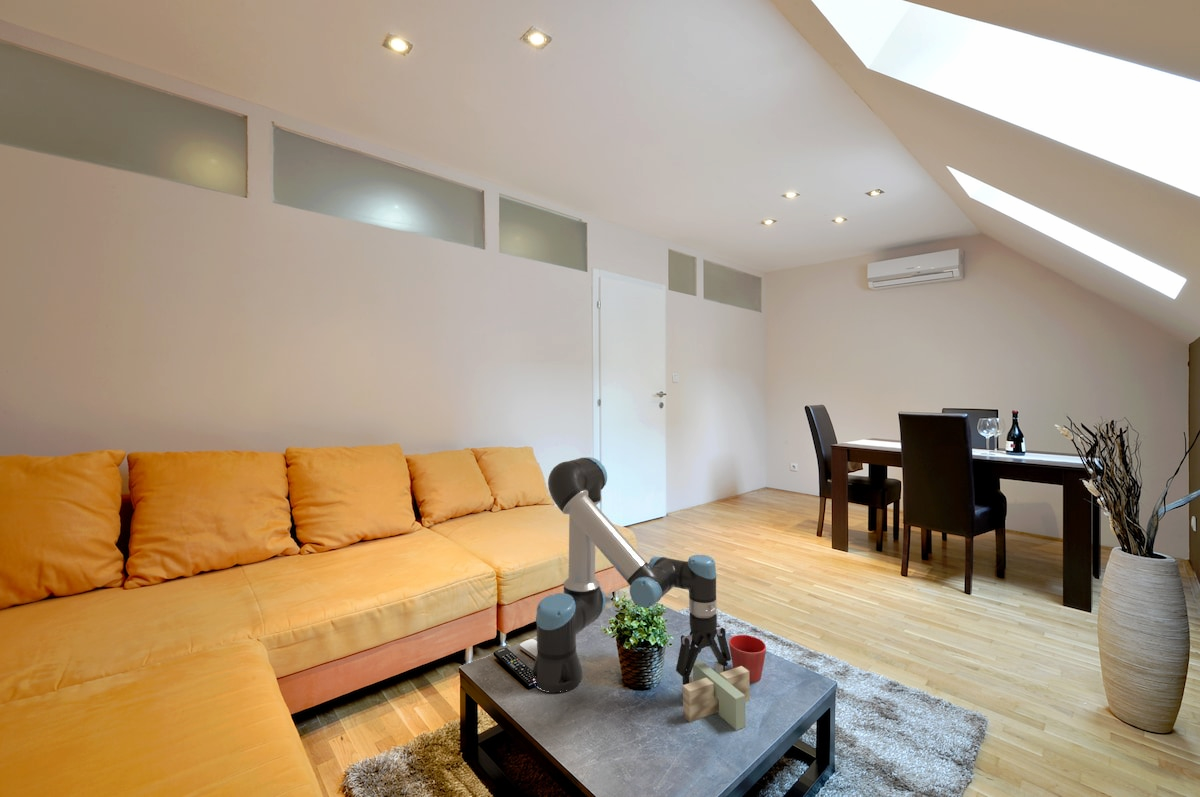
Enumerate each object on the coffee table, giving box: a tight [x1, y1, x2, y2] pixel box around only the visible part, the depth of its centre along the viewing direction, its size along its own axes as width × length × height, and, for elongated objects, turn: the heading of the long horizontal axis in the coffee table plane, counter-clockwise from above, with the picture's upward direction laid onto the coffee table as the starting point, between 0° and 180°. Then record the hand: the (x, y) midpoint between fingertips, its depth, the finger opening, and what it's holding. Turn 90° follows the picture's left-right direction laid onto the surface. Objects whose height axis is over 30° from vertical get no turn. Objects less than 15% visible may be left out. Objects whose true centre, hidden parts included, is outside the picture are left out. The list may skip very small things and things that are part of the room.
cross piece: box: [692, 660, 747, 731], centre depth 130 cm, size 18×3×8 cm, turn 25°
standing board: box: [682, 666, 751, 723], centre depth 130 cm, size 20×3×8 cm, turn 115°
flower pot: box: [728, 634, 767, 683], centre depth 145 cm, size 11×11×10 cm
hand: (704, 691), depth 135 cm, fingers open, 10 cm apart
